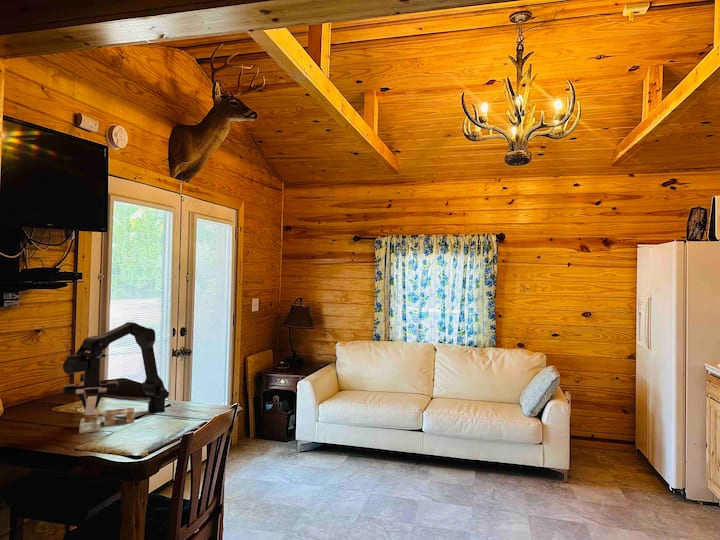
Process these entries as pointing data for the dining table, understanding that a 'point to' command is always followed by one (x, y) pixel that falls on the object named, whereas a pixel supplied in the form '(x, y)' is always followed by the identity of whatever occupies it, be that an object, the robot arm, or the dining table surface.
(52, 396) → the dining table surface
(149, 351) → the robot arm
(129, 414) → the tan u-shaped block
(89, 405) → the pinkish brown square bar
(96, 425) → the cradle
